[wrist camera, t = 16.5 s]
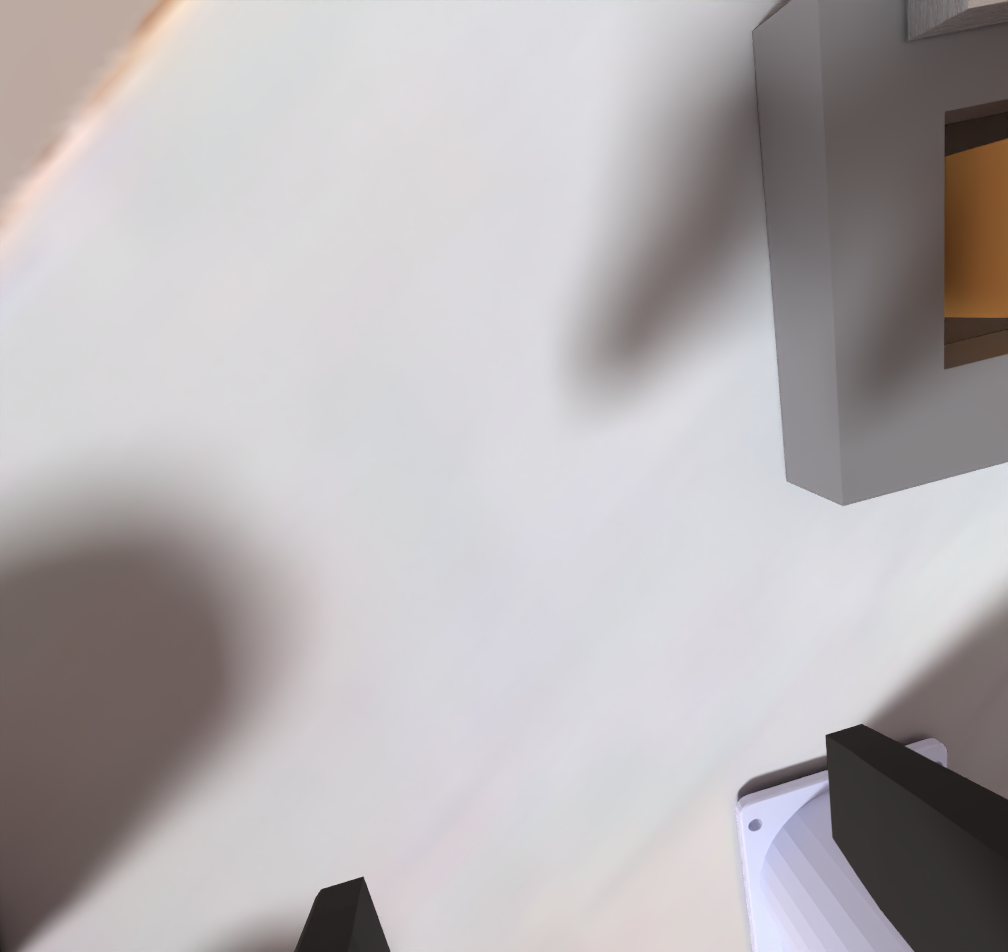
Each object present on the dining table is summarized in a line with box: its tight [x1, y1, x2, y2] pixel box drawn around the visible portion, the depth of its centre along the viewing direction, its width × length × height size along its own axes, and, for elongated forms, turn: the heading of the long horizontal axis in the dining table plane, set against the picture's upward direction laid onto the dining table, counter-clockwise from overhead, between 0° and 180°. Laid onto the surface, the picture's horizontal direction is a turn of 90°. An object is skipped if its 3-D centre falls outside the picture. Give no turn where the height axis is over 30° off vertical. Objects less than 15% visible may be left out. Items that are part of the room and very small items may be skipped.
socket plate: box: [752, 0, 1008, 506], centre depth 16 cm, size 12×12×2 cm
